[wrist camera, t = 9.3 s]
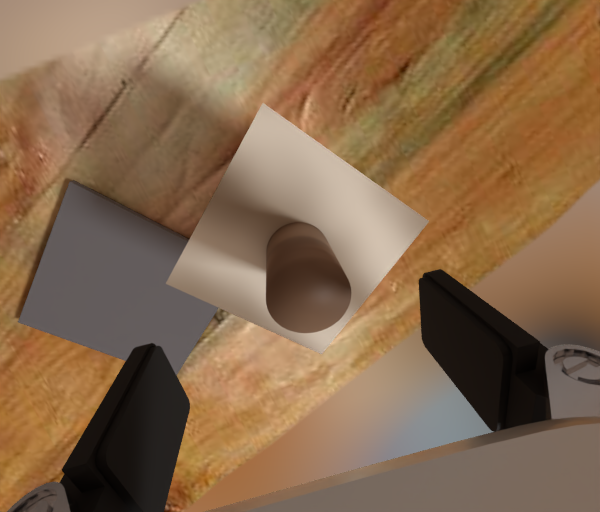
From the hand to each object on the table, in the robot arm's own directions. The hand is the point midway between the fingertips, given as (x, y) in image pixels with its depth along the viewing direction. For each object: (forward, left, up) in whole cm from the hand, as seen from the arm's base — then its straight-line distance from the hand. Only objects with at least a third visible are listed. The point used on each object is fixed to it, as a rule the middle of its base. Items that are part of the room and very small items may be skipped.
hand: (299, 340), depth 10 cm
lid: (+1, 0, -8) cm, 8 cm away
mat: (-12, +8, -15) cm, 21 cm away
